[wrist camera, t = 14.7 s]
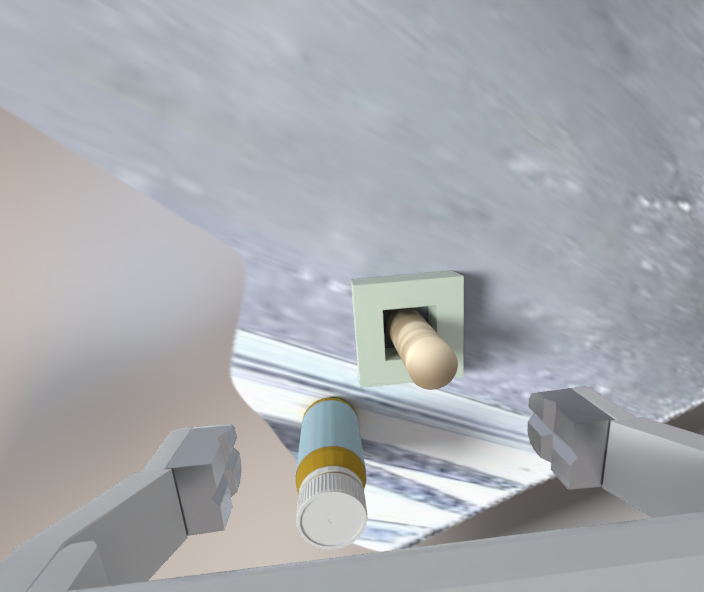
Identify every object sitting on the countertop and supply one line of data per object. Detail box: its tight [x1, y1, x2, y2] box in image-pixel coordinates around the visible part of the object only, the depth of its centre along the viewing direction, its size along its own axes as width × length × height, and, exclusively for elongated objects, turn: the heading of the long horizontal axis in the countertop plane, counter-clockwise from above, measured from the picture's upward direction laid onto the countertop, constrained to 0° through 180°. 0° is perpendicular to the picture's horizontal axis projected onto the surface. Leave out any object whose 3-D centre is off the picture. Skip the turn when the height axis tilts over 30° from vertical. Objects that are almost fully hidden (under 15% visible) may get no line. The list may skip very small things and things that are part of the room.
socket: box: [351, 271, 464, 388], centre depth 40 cm, size 12×12×4 cm
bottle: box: [296, 398, 367, 549], centre depth 37 cm, size 7×7×15 cm
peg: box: [386, 308, 458, 390], centre depth 36 cm, size 4×4×12 cm
